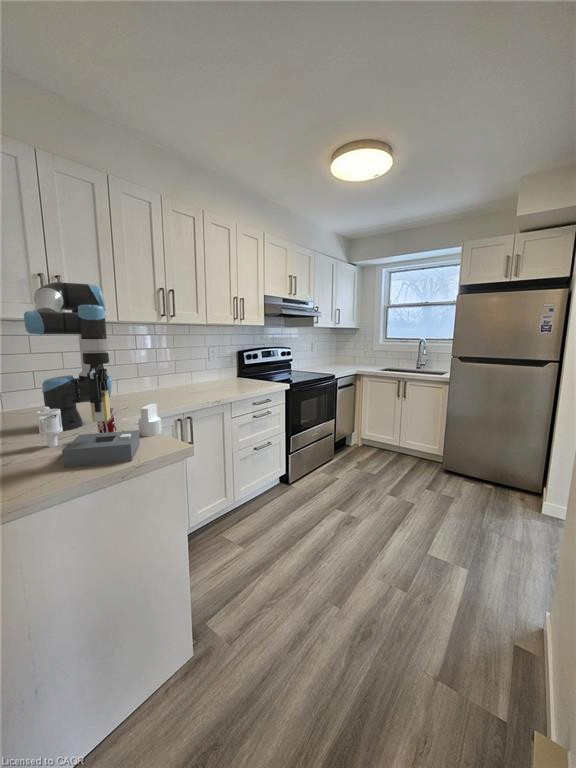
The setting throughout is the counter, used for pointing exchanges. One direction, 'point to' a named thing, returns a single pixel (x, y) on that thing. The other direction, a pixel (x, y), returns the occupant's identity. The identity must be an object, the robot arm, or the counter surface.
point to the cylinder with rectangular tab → (149, 421)
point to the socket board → (101, 448)
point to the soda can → (108, 423)
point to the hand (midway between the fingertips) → (102, 418)
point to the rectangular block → (105, 406)
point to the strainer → (50, 425)
